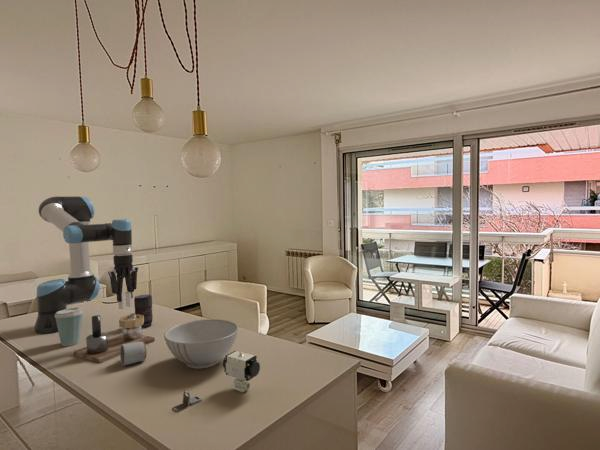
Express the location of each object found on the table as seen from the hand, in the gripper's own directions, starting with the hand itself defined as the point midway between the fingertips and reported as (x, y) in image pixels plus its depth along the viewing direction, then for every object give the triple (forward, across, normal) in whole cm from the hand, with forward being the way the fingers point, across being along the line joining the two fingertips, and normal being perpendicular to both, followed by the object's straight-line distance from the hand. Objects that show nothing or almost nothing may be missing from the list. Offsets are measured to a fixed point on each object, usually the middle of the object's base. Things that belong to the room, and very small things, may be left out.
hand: (125, 307), depth 162 cm
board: (+15, -8, -4) cm, 17 cm away
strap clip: (+15, -28, -64) cm, 71 cm away
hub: (+13, 0, -4) cm, 14 cm away
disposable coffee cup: (+15, -14, +19) cm, 28 cm away
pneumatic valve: (+15, -14, -73) cm, 76 cm away
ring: (+7, 0, -4) cm, 8 cm away
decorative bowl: (+15, -2, -47) cm, 49 cm away
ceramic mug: (+15, -14, -22) cm, 30 cm away
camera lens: (+15, +16, +9) cm, 24 cm away
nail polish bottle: (+13, -16, -4) cm, 21 cm away
